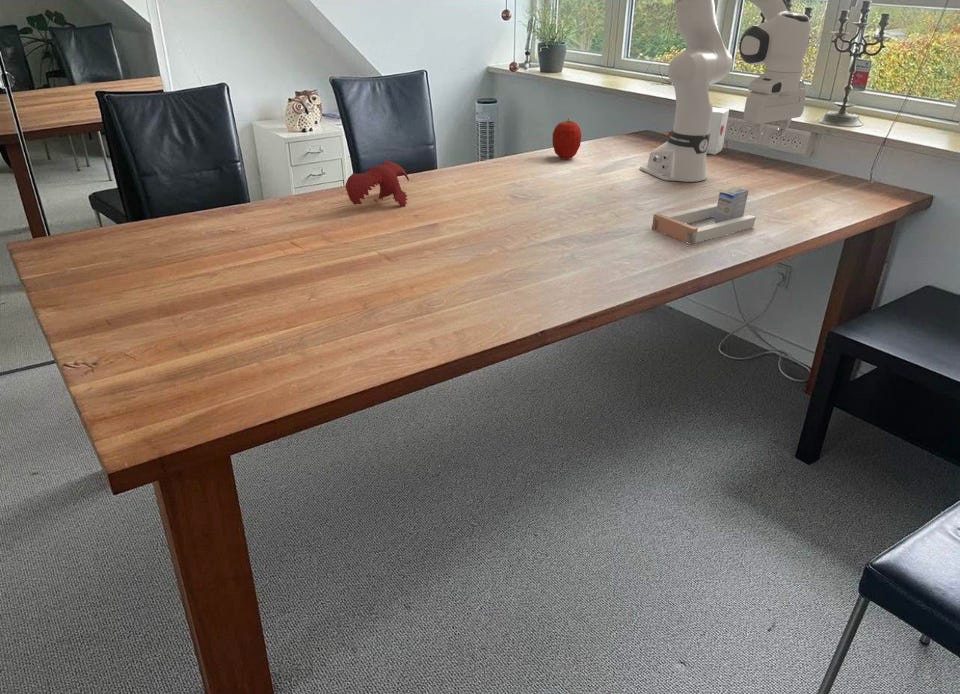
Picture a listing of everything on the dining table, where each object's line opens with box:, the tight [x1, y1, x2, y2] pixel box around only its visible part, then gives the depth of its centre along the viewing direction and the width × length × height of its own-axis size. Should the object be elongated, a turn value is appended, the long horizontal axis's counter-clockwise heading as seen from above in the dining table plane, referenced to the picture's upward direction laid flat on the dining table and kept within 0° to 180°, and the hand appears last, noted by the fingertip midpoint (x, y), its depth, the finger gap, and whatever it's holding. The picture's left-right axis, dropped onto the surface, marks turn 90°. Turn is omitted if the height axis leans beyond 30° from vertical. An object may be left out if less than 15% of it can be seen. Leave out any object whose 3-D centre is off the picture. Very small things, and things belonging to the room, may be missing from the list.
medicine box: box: [713, 186, 749, 224], centre depth 188 cm, size 8×4×9 cm, turn 134°
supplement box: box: [706, 106, 730, 155], centre depth 257 cm, size 9×9×15 cm
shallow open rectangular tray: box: [651, 202, 756, 245], centre depth 185 cm, size 14×24×4 cm, turn 123°
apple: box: [552, 118, 582, 160], centre depth 245 cm, size 10×10×14 cm
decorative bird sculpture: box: [345, 160, 410, 207], centre depth 199 cm, size 28×9×15 cm
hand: (769, 137), depth 185 cm, fingers open, 8 cm apart
